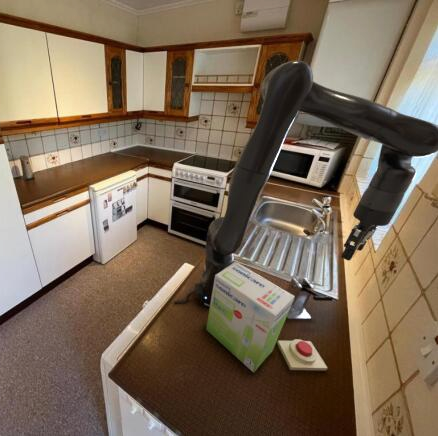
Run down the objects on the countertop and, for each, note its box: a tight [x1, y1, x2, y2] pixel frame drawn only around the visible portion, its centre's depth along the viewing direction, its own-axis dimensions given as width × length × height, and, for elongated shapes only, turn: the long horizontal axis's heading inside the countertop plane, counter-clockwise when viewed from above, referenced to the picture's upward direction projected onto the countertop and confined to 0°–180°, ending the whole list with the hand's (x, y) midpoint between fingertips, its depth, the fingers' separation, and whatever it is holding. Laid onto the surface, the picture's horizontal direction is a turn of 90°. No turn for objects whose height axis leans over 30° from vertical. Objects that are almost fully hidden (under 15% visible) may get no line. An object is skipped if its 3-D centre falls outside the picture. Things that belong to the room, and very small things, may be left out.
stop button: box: [296, 340, 312, 357], centre depth 68 cm, size 4×4×2 cm
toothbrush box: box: [205, 261, 295, 374], centre depth 69 cm, size 18×10×24 cm, turn 37°
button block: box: [276, 339, 328, 371], centre depth 69 cm, size 10×8×4 cm
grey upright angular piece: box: [286, 277, 315, 320], centre depth 83 cm, size 10×8×13 cm
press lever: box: [298, 281, 333, 302], centre depth 76 cm, size 12×5×2 cm, turn 179°
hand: (351, 253), depth 70 cm, fingers open, 8 cm apart
